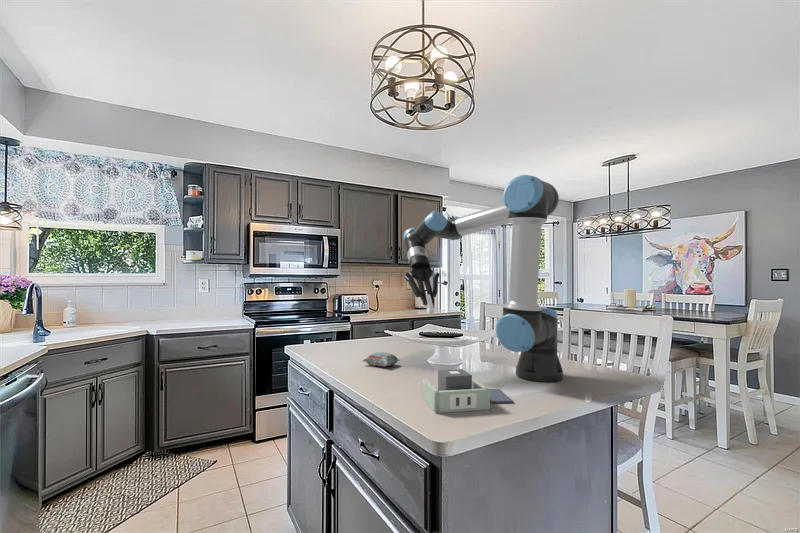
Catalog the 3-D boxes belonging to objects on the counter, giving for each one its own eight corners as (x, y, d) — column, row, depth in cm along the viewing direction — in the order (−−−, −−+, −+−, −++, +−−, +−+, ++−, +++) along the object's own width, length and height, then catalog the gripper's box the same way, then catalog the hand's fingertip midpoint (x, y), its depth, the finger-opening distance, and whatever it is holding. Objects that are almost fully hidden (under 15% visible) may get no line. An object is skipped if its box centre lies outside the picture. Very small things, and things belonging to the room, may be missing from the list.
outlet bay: (471, 394, 110) (471, 377, 110) (490, 409, 98) (490, 389, 98) (422, 398, 107) (422, 379, 107) (435, 413, 95) (435, 392, 95)
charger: (462, 398, 108) (462, 368, 108) (471, 406, 101) (471, 375, 101) (438, 399, 106) (438, 369, 106) (446, 408, 99) (446, 376, 100)
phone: (499, 392, 115) (499, 388, 115) (514, 405, 103) (514, 401, 103) (479, 392, 115) (479, 389, 115) (491, 405, 103) (491, 401, 103)
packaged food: (386, 370, 140) (386, 356, 140) (361, 366, 147) (361, 352, 147) (400, 366, 147) (400, 353, 147) (375, 362, 154) (375, 349, 154)
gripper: (433, 268, 150) (446, 318, 134) (400, 267, 147) (410, 319, 132) (437, 254, 145) (452, 304, 129) (403, 254, 142) (414, 305, 126)
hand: (430, 312), depth 130 cm, fingers closed
